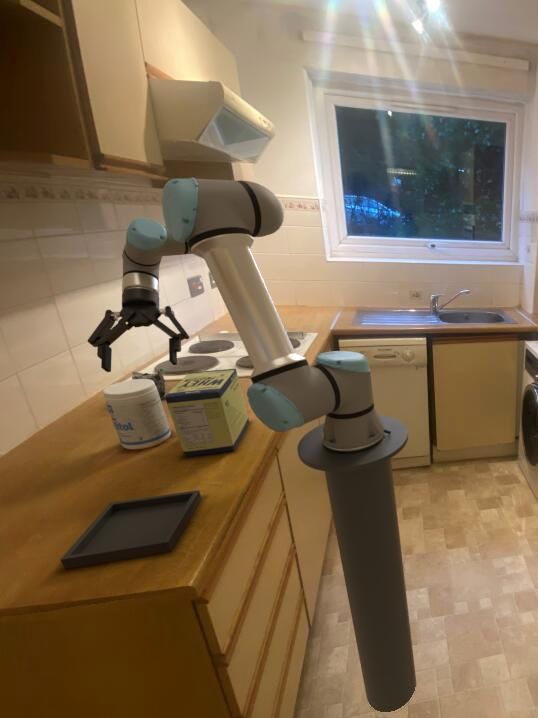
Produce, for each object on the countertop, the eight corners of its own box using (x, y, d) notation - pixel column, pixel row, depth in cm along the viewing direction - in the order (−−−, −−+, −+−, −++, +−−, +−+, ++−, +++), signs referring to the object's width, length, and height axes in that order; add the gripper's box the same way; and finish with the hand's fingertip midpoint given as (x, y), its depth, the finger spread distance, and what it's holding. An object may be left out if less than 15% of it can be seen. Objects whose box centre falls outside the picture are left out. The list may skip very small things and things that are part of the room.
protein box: (250, 421, 116) (236, 367, 110) (235, 451, 102) (218, 391, 96) (205, 427, 113) (188, 371, 107) (183, 458, 99) (163, 396, 93)
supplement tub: (111, 450, 102) (88, 393, 96) (145, 430, 110) (126, 377, 105) (151, 452, 101) (130, 394, 96) (182, 432, 110) (164, 378, 104)
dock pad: (201, 498, 86) (199, 489, 85) (171, 551, 73) (167, 541, 72) (113, 511, 82) (109, 502, 81) (65, 569, 69) (60, 559, 68)
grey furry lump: (180, 371, 139) (157, 360, 125) (180, 404, 137) (156, 397, 123) (137, 373, 136) (108, 362, 122) (135, 407, 134) (106, 400, 120)
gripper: (201, 299, 123) (204, 366, 116) (89, 306, 114) (85, 379, 107) (191, 283, 116) (194, 353, 109) (71, 289, 107) (66, 366, 100)
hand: (140, 366), depth 108 cm, fingers open, 13 cm apart
